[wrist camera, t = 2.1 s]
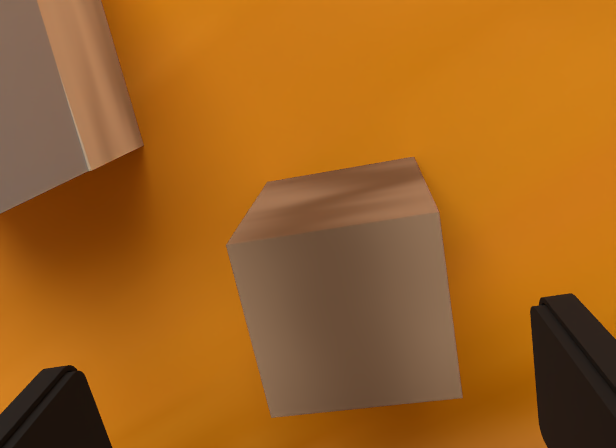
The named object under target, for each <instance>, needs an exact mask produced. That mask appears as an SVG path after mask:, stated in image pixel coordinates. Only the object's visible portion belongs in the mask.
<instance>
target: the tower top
mask: <svg viewBox="0 0 616 448" xmlns="http://www.w3.org/2000/svg"><path fill="white" fill-rule="evenodd" d="M87 171H89V169H88V166H87V163H86V159H85V156H84V153H83V150H82V146H81V143H80V140H79V137H78V133H77V130H76V127H75V123H74V120H73V117H72V114H71V110H70V107H69V104H68V101H67V97H66V94H65V91H64V87H63V84H62V81H61V78H60V74H59V71H58V68H57V65H56V61H55V58H54V55H53V52H52V48H51V45H50V42H49V38H48V35H47V32H46V29H45V25H44V22H43V19H42V16H41V12H40V9H39V6H38V3H37V0H0V214H1V213H3V212H5V211H7V210H9V209H11V208H13V207H15V206H17V205H19V204H21V203H23V202H25V201H27V200H30V199H32V198H34V197H36V196H38V195H40V194H42V193H44V192H46V191H48V190H50V189H52V188H54V187H56V186H58V185H61V184H63V183H65V182H67V181H69V180H71V179H73V178H75V177H77V176H79V175H81V174H83V173H85V172H87Z"/></svg>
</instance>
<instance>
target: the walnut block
mask: <svg viewBox="0 0 616 448" xmlns="http://www.w3.org/2000/svg"><path fill="white" fill-rule="evenodd" d="M226 247H227V250H228V254H229V258H230V262H231V266H232V270H233V273H234V277H235V281H236V285H237V289H238V292H239V296H240V300H241V304H242V308H243V311H244V315H245V319H246V323H247V327H248V331H249V334H250V338H251V342H252V346H253V350H254V353H255V357H256V361H257V365H258V369H259V372H260V376H261V380H262V384H263V388H264V392H265V395H266V399H267V403H268V407H269V411H270V414H271V418H273V417H283V416H292V415H302V414H312V413H321V412H331V411H341V410H350V409H360V408H370V407H379V406H389V405H399V404H409V403H418V402H428V401H438V400H447V399H457V398H463V397H462V389H461V381H460V373H459V365H458V357H457V349H456V341H455V334H454V326H453V318H452V310H451V302H450V294H449V286H448V278H447V271H446V263H445V255H444V247H443V239H442V231H441V223H440V215H439V211H438V208H437V206H436V204H435V202H434V200H433V198H432V195H431V193H430V191H429V189H428V187H427V184H426V182H425V180H424V178H423V176H422V174H421V171H420V169H419V167H418V165H417V163H416V160H415V158H414V157H410V158H404V159H398V160H392V161H387V162H381V163H375V164H369V165H363V166H358V167H352V168H346V169H340V170H334V171H329V172H323V173H317V174H311V175H305V176H300V177H294V178H288V179H282V180H276V181H271V182H267V183H266V185H265V186H264V188H263V190H262V191H261V193H260V194H259V196H258V197H257V199H256V200H255V202H254V203H253V205H252V206H251V208H250V209H249V211H248V212H247V214H246V215H245V217H244V219H243V220H242V222H241V223H240V225H239V226H238V228H237V229H236V231H235V232H234V234H233V235H232V237H231V238H230V240H229V241H228V243H227V244H226Z"/></svg>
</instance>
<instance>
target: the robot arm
mask: <svg viewBox="0 0 616 448" xmlns="http://www.w3.org/2000/svg"><path fill="white" fill-rule="evenodd" d="M530 315H531V328H532V341H533V354H534V367H535V380H536V393H537V406H538V418H539V425H540V430H541V433H542V436H543V439H544V441H545V443H546V445H547V447H548V448H616V339H615V338H614V337H613V336H612V335H611V334H610V333H609V332H608V331H607V330H606V329H605V327H604V326H603V325H602V324H601V323H600V322H599V321H598V320H597V319H596V318H595V317H594V316H593V315H592V313H591V312H590V311H589V310H588V309H587V308H586V307H585V306H584V305H583V304H582V303H581V302H580V301H579V300H578V298H577V297H576V296H575V295H573V294H572V293H571V294H563V295H556V296H549V297H542V298H541V299H540V301H539V306H532V307H531V310H530ZM0 448H112V446H111V443H110V440H109V438H108V435H107V433H106V430H105V427H104V425H103V422H102V419H101V417H100V414H99V411H98V409H97V406H96V403H95V401H94V398H93V395H92V393H91V390H90V387H89V385H88V382H87V379H86V377H85V375H84V373H83V372H81V371H77V369H76V368H75V367H74V366H71V365H68V366H61V367H54V368H47V369H43V370H42V371H41V372H40V373H39V374H38V375H37V376H36V377H35V378H34V379H33V380H32V381H31V382H30V383H29V384H28V385H27V386H26V388H25V389H24V390H23V391H22V392H21V393H20V394H19V395H18V396H17V397H16V398H15V399H14V400H13V401H12V403H11V404H10V405H9V406H8V407H7V408H6V409H5V410H4V411H3V412H2V413H1V414H0Z"/></svg>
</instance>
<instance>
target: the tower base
mask: <svg viewBox="0 0 616 448" xmlns="http://www.w3.org/2000/svg"><path fill="white" fill-rule="evenodd" d="M37 3H38V6H39V9H40V12H41V16H42V19H43V22H44V25H45V29H46V32H47V35H48V38H49V42H50V45H51V48H52V52H53V55H54V58H55V61H56V65H57V68H58V71H59V74H60V78H61V81H62V84H63V87H64V91H65V94H66V97H67V101H68V104H69V107H70V110H71V114H72V117H73V120H74V123H75V127H76V130H77V133H78V137H79V140H80V143H81V146H82V150H83V153H84V156H85V159H86V163H87V166H88V169H89V171H92V170H94V169H96V168H98V167H100V166H102V165H104V164H106V163H108V162H111V161H113V160H115V159H117V158H119V157H121V156H123V155H125V154H127V153H129V152H131V151H133V150H135V149H137V148H139V147H141V146H144V145H143V141H142V138H141V134H140V131H139V128H138V124H137V121H136V118H135V114H134V111H133V107H132V104H131V101H130V97H129V94H128V90H127V87H126V84H125V80H124V77H123V73H122V70H121V67H120V63H119V60H118V56H117V53H116V50H115V46H114V43H113V39H112V36H111V33H110V29H109V26H108V22H107V19H106V16H105V12H104V9H103V5H102V2H101V0H37Z"/></svg>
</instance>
